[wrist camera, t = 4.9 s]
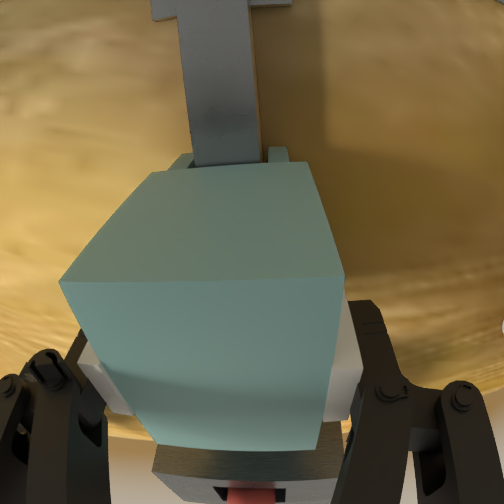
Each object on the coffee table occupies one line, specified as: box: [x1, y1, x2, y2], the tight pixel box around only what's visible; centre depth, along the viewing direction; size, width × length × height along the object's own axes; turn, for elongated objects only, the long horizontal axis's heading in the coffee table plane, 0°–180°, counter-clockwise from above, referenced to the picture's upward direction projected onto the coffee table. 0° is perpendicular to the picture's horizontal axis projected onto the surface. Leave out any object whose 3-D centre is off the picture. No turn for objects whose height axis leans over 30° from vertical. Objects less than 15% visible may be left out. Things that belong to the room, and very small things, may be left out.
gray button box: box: [152, 418, 344, 504], centre depth 19 cm, size 10×7×10 cm
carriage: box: [59, 146, 345, 451], centre depth 12 cm, size 6×8×9 cm
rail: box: [150, 0, 292, 168], centre depth 13 cm, size 6×24×5 cm, turn 4°
